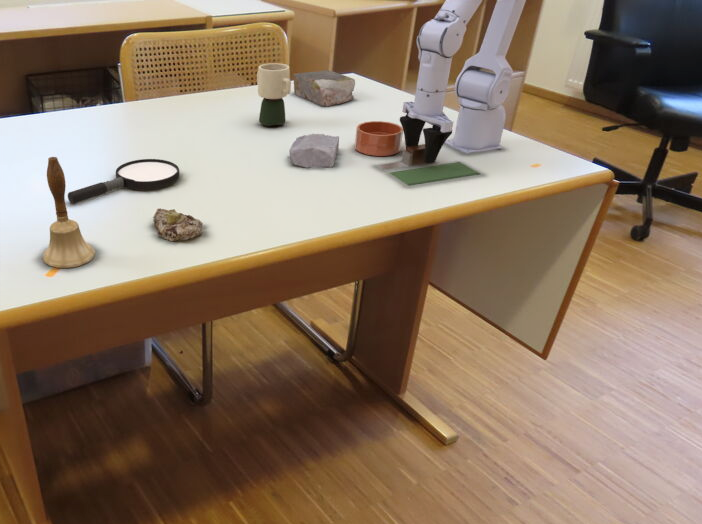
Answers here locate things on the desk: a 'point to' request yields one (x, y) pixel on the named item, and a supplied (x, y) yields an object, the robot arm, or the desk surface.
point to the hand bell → (64, 227)
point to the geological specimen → (324, 87)
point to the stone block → (314, 150)
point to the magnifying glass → (132, 178)
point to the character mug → (273, 92)
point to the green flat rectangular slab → (434, 173)
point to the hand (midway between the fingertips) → (420, 157)
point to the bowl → (378, 138)
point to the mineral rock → (176, 225)
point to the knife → (408, 157)
